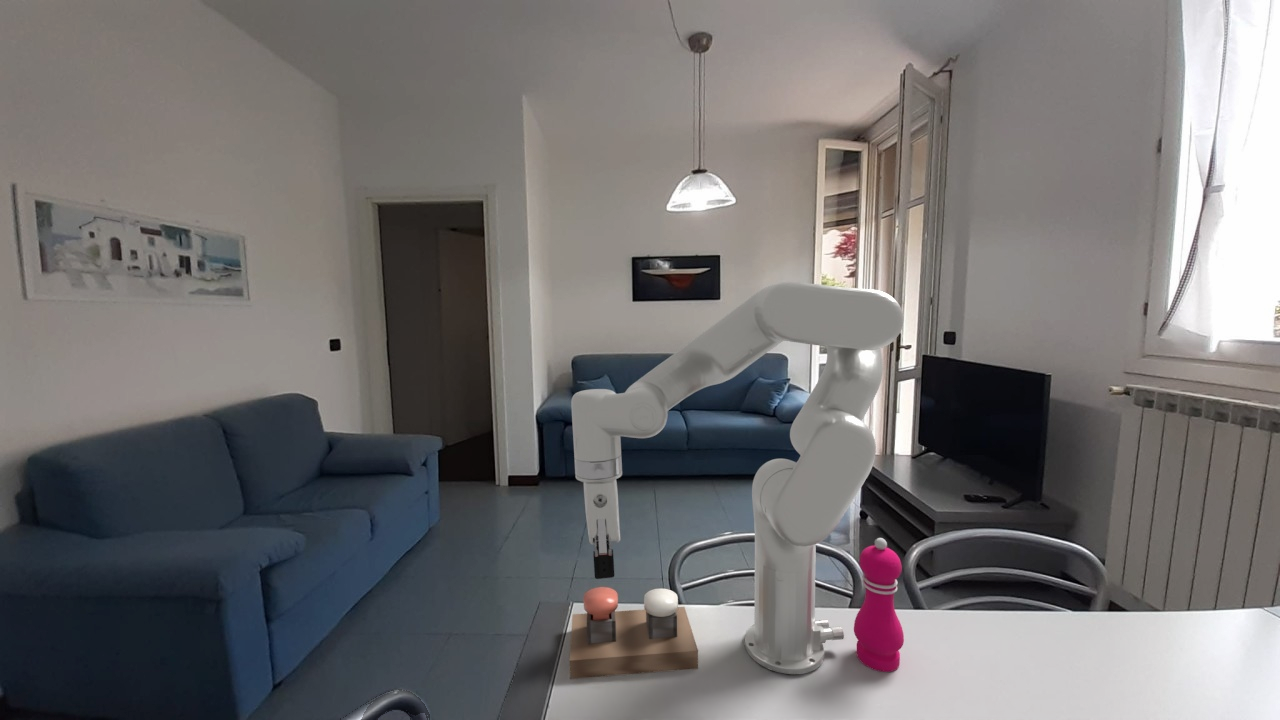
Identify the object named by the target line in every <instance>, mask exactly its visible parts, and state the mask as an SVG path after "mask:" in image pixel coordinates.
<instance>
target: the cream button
mask: <svg viewBox="0 0 1280 720" xmlns="http://www.w3.org/2000/svg"><path fill="white" fill-rule="evenodd" d="M678 599H679V597H678V594H677V593H676V592H675V591H673V590H670V589H668V588H654V589H651V590H648V591H647V592H646V593H645V594H644V596H643V601H644V602H643V607H644V609H645V611H646V612H647V613H649V614H651V615H653V616H658V617H665V616H670V615H672V614H674V613H675V612H676V611H677V609H678V607H679V600H678Z"/></svg>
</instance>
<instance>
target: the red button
mask: <svg viewBox="0 0 1280 720" xmlns="http://www.w3.org/2000/svg"><path fill="white" fill-rule="evenodd" d="M618 596H619V594H618V592H617V591H616V590H615V589H613V588H612V587H608V586H607V587H606V586H599V587H593V588H591V589H588V590H587V591H586V592H585V593H584V595H583V610H584V611H585V612H586V613H589V614H592V615H593V620H604V619H609V614H610V613H612V612H614V611H616V610H617V608H618V607H619V604H618V603H619V597H618Z"/></svg>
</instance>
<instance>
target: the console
mask: <svg viewBox="0 0 1280 720" xmlns="http://www.w3.org/2000/svg"><path fill="white" fill-rule="evenodd" d="M570 631H571V633H570V647H569V659H568V661H569V680H573V679H584V678H585V679H586V678H587V679H588V678H601V677H611V676H625V675H634V674H635V675H636V674H637V675H638V674H646V673H647V674H649V673H651V674H652V673H663V672H674V671H683V670H684V671H685V670H698V669H699V648H698V645H697V643H696V639H695V636H694V634H693V630H692V627H691V623H690V620H689V617H688V614H687V610H686V607H685V606H678V609H677V611H676V612H675V613H674V614H672V615H670V616H665V617H658V616H653V615H651V614H649V613H647V612H646V611H645V608H644V609H632V610H617V611H616V610H615V611H614V612H612V613H610V614H609V619H604V620H593V615H592V614H589V613H587V612H586V613H573V614H572V619H571V630H570Z"/></svg>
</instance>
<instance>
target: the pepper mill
mask: <svg viewBox="0 0 1280 720" xmlns="http://www.w3.org/2000/svg"><path fill="white" fill-rule="evenodd" d="M858 563H859V566H860V569H861V570H862V572H863V573H862V581H861V582H862V586H864V589H865V597H864V601H863V603H862V606H861V607H860V608H859V610H858V611H857V614H856V616H855V619H854V622H853V623H854V624H853V632H854V633H853V634H854V635H855V638H856V639H857V641H856V642H857V643H856V651H855V652H856V656H857V658H858V660H859V661H860V662H861V663H862V664H863V665H864V666H866V667H868V668H870V669H871V670H875V671H878V672H882V673H883V672H884V673H889V672H893V671H895V670H898V668H899V667H900V664H901V662H900V661H901V659H900V657H901V655H900V654H901V653H900V650H901V648H903V646H904V642H905V639H904V638H905V637H904V630H903V626H902V625H901V622H900V619H899V617H898V615H897V612H896V610H895V606H894V596H895V593H897V591H898V580H897V579H898V578H899V577H900V575H901V573H902V568H903V567H902V561H901V559H900V557H899V555H898V554H897V552H895V551H894V550H892V549H890V548H889V547H888V542H887V541H886V539H884V538H883V537H877V538H876V539H874V545H870V546H867V547H865V548H864V549H863V550H862V552H860V556H859V561H858Z"/></svg>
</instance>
